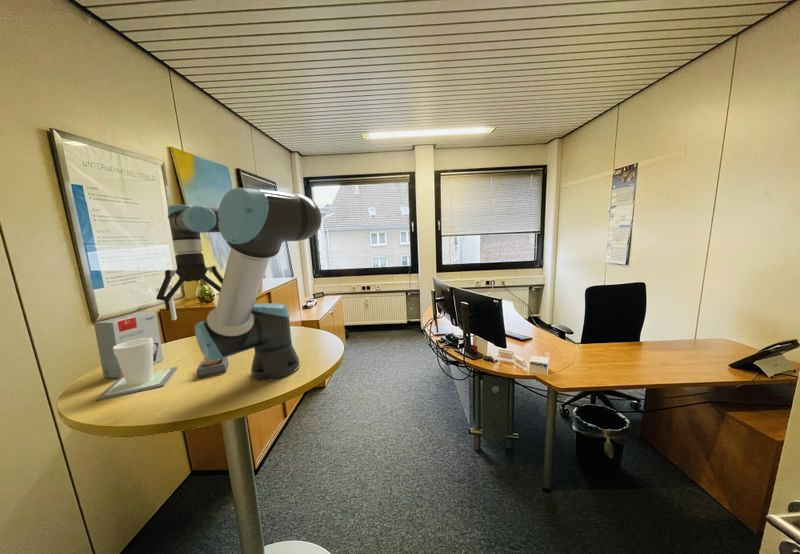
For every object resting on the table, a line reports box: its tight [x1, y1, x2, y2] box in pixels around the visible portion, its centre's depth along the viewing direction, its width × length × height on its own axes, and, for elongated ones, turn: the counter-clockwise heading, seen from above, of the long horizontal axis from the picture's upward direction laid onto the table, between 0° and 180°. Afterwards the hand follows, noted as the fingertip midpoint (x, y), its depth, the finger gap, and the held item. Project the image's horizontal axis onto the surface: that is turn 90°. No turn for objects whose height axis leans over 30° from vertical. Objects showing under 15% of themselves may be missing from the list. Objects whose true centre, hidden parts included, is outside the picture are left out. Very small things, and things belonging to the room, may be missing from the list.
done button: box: [203, 356, 221, 367], centre depth 98 cm, size 5×5×3 cm
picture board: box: [94, 366, 178, 401], centre depth 93 cm, size 15×16×1 cm
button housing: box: [196, 357, 229, 379], centre depth 99 cm, size 8×8×3 cm
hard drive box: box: [93, 311, 164, 379], centre depth 104 cm, size 16×8×20 cm, turn 171°
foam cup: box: [113, 338, 154, 386], centre depth 92 cm, size 10×9×13 cm
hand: (199, 315), depth 95 cm, fingers open, 13 cm apart
